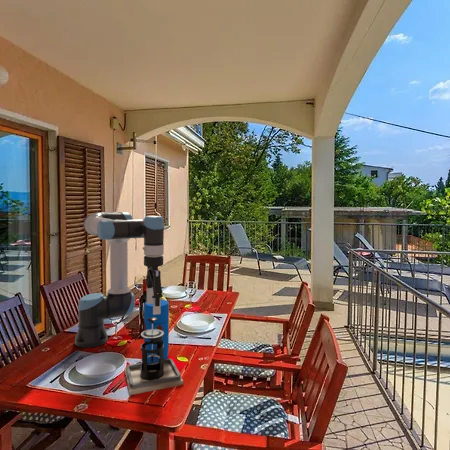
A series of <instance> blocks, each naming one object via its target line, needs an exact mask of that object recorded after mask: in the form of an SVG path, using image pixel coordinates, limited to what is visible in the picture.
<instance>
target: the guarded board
mask: <svg viewBox="0 0 450 450" xmlns="http://www.w3.org/2000/svg"><path fill="white" fill-rule="evenodd" d="M163 365H164V375H163V376H162V377H161V378H159V379H155V380H150V381H149V380H144V379H142V378H141V377H140V373H141V366H142V362H139V363H133V364H127V366H126V367H124V375H126V376H125V380H126V384H127V387H128V393H129V395H130V396H131V395H132V396H133V395H137V394H143V393H146V392H152V391H157V390H158V391H159V390H162V389H168V388H173V387H177V386H181V385H182V386H183V385H184V380H183V378H182V375H181V373H180V371H179V369H178V367H177V365H176V364H175V361H174V360H173V358H168V357H167V358H166V359H163ZM154 371H158V370H156V369H151V370H147V372H154Z"/></svg>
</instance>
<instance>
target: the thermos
mask: <svg viewBox="0 0 450 450" xmlns="http://www.w3.org/2000/svg"><path fill="white" fill-rule="evenodd" d="M143 314H144V316H143V317H144V320H143V321H144V325H143V326H144V327H143V328H144V330H143V331H146V330H150V329H152V324H151V321H147V319H148V318H151V317H155V318H158V320H157V321H154V323H153V329H158V330H162V331H163V332H164V335H163V339H162V341H163V344H164V349H163V359H168V357H169V340H170V339H169V338H170V337H169V329H170V327H169V322H170V321H169V320H170V316H169V315H170V304H169V301H168V300H166V299H161V314H155V315H153V304H147V301H145V303H144V313H143ZM143 339H144V340H143V343H145V342H148V341H151V340H149V339H146V338H143ZM156 349H157V344H153V350H156ZM145 350H152V344H149V345H146V346H145ZM153 354H157V353H153ZM147 355H150V354H147Z"/></svg>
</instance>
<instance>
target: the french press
mask: <svg viewBox="0 0 450 450" xmlns="http://www.w3.org/2000/svg"><path fill="white" fill-rule="evenodd" d="M157 320H158V318H155V317H151V318H148V319H147V321H151V324H152V329H150V330H146V331H144V330H143V331H142V332H141V333H140V337H141V340H143V339H144V338H146V339H149V340H151V341H148V342H145V343H144V342H143V343H142V344H141V345H140V351H141V359H140V360H141V363H142V366H141V373H140V377H141V378H142V379H144V380H149V381H150V380H155V379H159V378H161V377H162V376H163V375H164V365H163V349H164V344H163V341H162V339H163V335H164V332H163V331H162V330H158V329H153V323H154V321H157ZM149 344H152V350H145V346H146V345H149ZM153 344H157V349H156V350H153ZM153 353H157V354H153ZM147 354H150V355H147ZM151 369H156V370H158V371H154V372H147V370H151Z"/></svg>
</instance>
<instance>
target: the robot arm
mask: <svg viewBox="0 0 450 450" xmlns="http://www.w3.org/2000/svg"><path fill="white" fill-rule="evenodd" d="M82 226H83V228H84V230H85V232H86V233H88V234H89V235H93V236H97V237H98V238H99V239H100V240H108V241H109V256H110V257H109V267H110V269H109V272H110V275H109V277H110V279H109V281H110V286H109V289H108V290H107V294H106V295H104V293H102V292H94V293H93V292H92V293H89V294H86V295H84V296H82V297H81V298H79V301H78V307H77V309H78V329H77V333H76V335H75V338H74V344H75V346H77V348H83V349H86V348H89V349H90V348H96V347H100V346H102V345H104V344H106V343H107V341H108V333H107V331H106V328H105V327H106V326H105V325H104V324H105V320H109V319H115V318H121V317H122V318H123V317H127V316H129V315H131V314H132V313H133V312H134V309H135V305H136V298H135V294H134V293H133V291H132V290H131V289H130V287H129V283H128V282H129V279H128V278H129V276H128V275H129V274H128V273H129V271H128V270H129V269H128V268H129V267H128V266H129V265H128V263H129V262H128V261H129V259H128V251H129V250H128V248H129V247H128V242H129V240H131V239H143V247H142V250H143V265H144V266H145V267H146V270H147V271H146V279H145V285H146V302H147V304H153V315H155V314H161V300H162V297H163V290H162V278H161V274H162V273H161V270H159V267H162V266H163V265H164V256H163V255H164V254H165V253H164V252H165V250H164V249H165V248H164V246H165V245H164V244H165V243H164V241H165V240H164V239H165V238H164V234H165V231H164V230H165V229H164V228H165V223H164V217H163V216H161V215H146V216H145V217H144V218H143V219H142V218H141V219H140V218H139V219H134V218H133V215H131V213H129V212H126V211H125V212H124V211H123V212H122V211H115V212H114V211H108V212H107V211H106V212H105V211H98V212H94V213H91V214H89V215H87V216H86V217H85V218H84V221H83V225H82Z"/></svg>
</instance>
